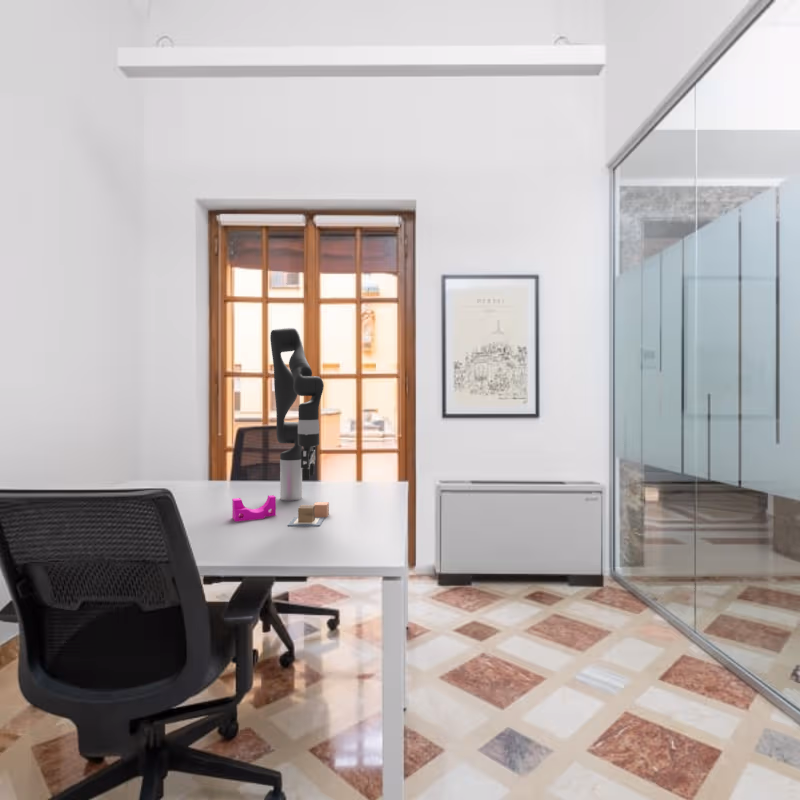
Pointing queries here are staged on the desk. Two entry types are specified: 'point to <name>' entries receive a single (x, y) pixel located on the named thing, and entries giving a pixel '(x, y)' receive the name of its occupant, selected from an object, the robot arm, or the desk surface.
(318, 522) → the blue bordered cream board
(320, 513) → the terracotta cube
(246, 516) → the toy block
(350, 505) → the desk surface
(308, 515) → the walnut cube
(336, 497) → the desk surface
